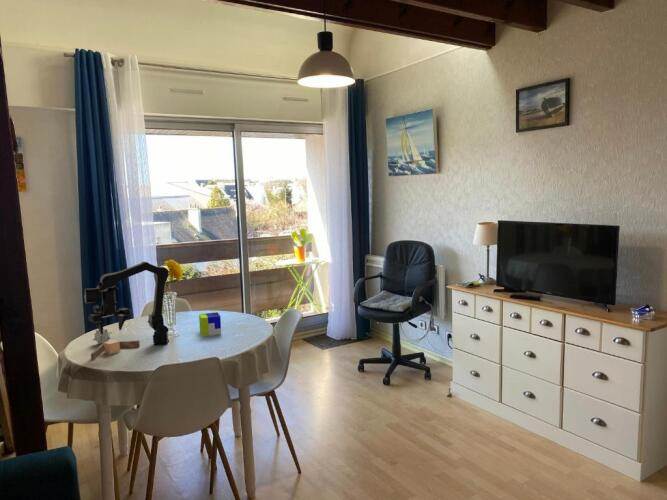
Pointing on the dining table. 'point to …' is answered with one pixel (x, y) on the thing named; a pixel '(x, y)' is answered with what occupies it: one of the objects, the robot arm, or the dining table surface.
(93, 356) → the arena
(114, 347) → the cube
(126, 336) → the dining table surface
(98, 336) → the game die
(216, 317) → the puzzle toy
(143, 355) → the dining table surface
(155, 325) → the robot arm
